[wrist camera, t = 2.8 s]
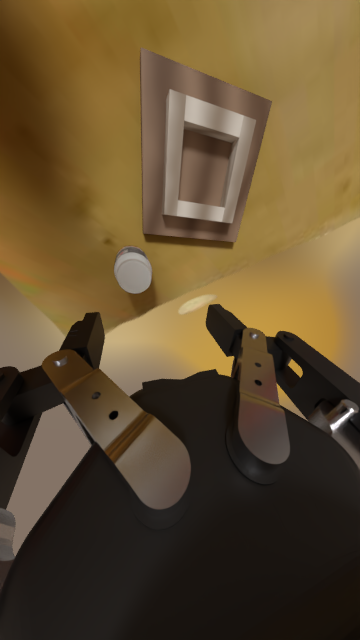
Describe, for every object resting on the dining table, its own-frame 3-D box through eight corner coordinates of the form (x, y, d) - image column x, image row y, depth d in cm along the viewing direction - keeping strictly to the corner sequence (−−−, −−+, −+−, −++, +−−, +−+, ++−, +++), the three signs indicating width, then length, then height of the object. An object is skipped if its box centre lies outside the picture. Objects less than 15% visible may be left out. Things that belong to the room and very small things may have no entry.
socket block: (142, 232, 28) (144, 234, 25) (140, 58, 19) (142, 30, 16) (231, 241, 33) (241, 243, 30) (264, 107, 24) (283, 92, 21)
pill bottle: (109, 259, 29) (102, 276, 21) (132, 237, 28) (133, 246, 20) (132, 282, 32) (134, 304, 24) (153, 263, 31) (163, 279, 23)
